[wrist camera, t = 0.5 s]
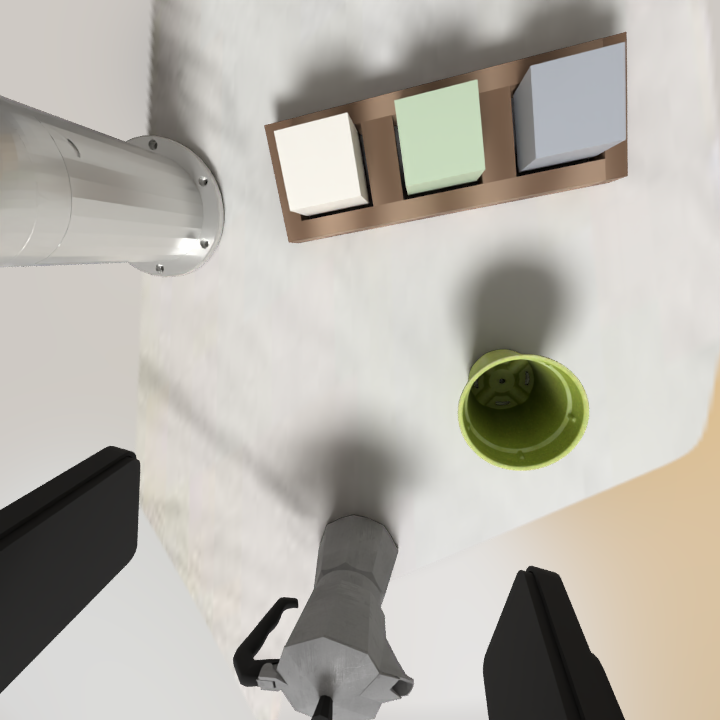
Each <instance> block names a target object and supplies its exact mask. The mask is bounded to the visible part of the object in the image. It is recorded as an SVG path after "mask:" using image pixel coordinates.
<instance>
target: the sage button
mask: <svg viewBox="0 0 720 720" xmlns="http://www.w3.org/2000/svg"><path fill="white" fill-rule="evenodd" d="M394 102H395V110H396V117H397V124H398V132H399V139H400V147H401V154H402V161H403V169H404V176H405V184H406V189H407V193H408V196H409V195H414V194H418V193H423V192H428V191H433V190H438V189H443V188H447V187H452V186H457V185H462V184H467V183H472V182H476V181H477V179H478V178H479V177H480V176H481V174H482V173H483V172H484V170H485V159H484V148H483V137H482V126H481V114H480V103H479V92H478V80H473V81H469V82H465V83H461V84H457V85H453V86H449V87H445V88H441V89H438V90H434V91H430V92H426V93H422V94H418V95H414V96H410V97H406V98H402V99H398V100H394Z"/></svg>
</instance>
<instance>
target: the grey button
mask: <svg viewBox="0 0 720 720" xmlns="http://www.w3.org/2000/svg"><path fill="white" fill-rule="evenodd" d="M513 103H514V117H515V131H516V146H517V160H518V173H520V172H525V171H529V170H534V169H539V168H544V167H549V166H554V165H558V164H563V163H568V162H573V161H578V160H582V159H587V158H592V157H595V156H597V155H599V154H600V153H602V152H604V151H606V150H608V149H610V148H611V147H613V146H615V145H617V144H619V143H621V142H622V141H624V140H626V80H625V42H622V43H618V44H614V45H611V46H607V47H603V48H599V49H595V50H591V51H587V52H583V53H579V54H575V55H571V56H567V57H563V58H559V59H555V60H552V61H548V62H544V63H540V64H536V65H532V66H530V68H529V69H528V71H527V73H526V74H525V76H524V78H523V79H522V81H521V83H520V84H519V86H518V88H517V90H516V91H515V93H514V95H513Z"/></svg>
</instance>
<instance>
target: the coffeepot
mask: <svg viewBox="0 0 720 720" xmlns="http://www.w3.org/2000/svg"><path fill="white" fill-rule="evenodd" d="M397 554H398V549H397V548H396V546H395V544H394V541H393V539H392V537H391V535H390V534H389V532H388V531H387V530H386V528H385V526H383V525H382V524H380V523H378V522H376V521H374V520H371V519H369V518H366V517H362V516H356V515H351V516H347V517H343V518H340V519H338V520H336V521H334V522H333V523H330V524H327V526H326V529H325V532H324V535H323V538H322V541H321V544H320V546H319V551H318V559H317V568H316V576H315V584H314V590H313V592H312V594H311V596H310V598H309V600H308V602H307V604H306V606H305V608H304V610H303V612H302V614H301V616H300V618H299V620H298V622H297V624H296V626H295V628H294V629H293V631H292V633H291V635H290V637H289V639H288V641H287V643H286V645H285V646H284V649H283V652H282V655H281V658H280V659H266V660H254V659H253V657H254V656H255V655H256V654H257V653H258V651H259V650H260V648H261V647H262V645H263V644H264V642H265V640H266V638H267V636H268V634H269V633H270V632H271V631H272V630H273V629H274V628H275V627H276V626H277V624H278V622H279V620H280V618H281V615H282V613H283V611H285V610H286V609H289V608H298V600H297V599H296V598H287V597H283V598H280V599H278V601H277V602H276V603H275V604H274V605H273V607H272V608H271V609H270V610H269V611H268V613H267V614H266V615H265V616H264V617H263V619H262V620H261V621H260V622H259V623H258V625H257V626H256V627H255V629H254V630H253V631H252V632H251V633H250V635H249V636H248V637H247V638H246V639H245V640H244V641H243V643H242V644H241V645H240V646H239V648H238V649H237V650H236V652H235V655H234V657H233V664H234V667H235V670H236V673H237V676H238V678H239V681H240V684H242V685H244V686H246V687H252V686H257V687H261V690H269V691H280V690H282V692H283V693H284V695H285V696H286V698H287V699H288V701H289V702H290V704H291V705H292V707H293V708H294V710H295V711H298V712H301V713H303V714H305V715H308V716H310V717H312V719H311V720H370V719H374V718H375V717H376V714H377V712H378V710H379V708H380V706H381V704H382V703H385V702H389V701H393V700H397V699H401V696H407V695H408V694H409V693H410V692H411V690H412V688H413V684H414V680H413V679H412V678H410V677H408V676H407V675H406V674H405V672H404V670H403V669H402V667H401V666H400V664H399V662H398V661H397V659H396V657H395V655H394V653H393V651H392V649H391V647H390V645H389V643H388V641H387V639H386V631H385V616H384V613H383V611H382V610H381V604H382V602H383V599H384V596H385V593H386V590H387V586H388V583H389V580H390V577H391V573H392V570H393V567H394V564H395V560H396V557H397Z"/></svg>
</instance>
